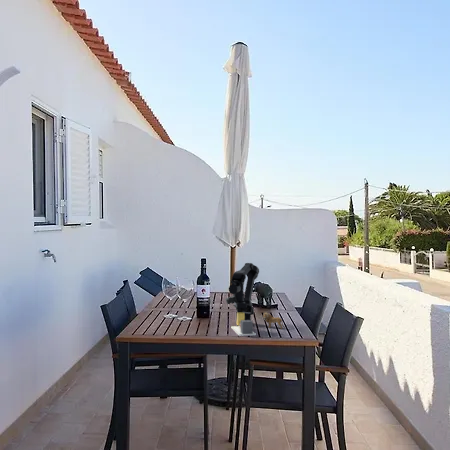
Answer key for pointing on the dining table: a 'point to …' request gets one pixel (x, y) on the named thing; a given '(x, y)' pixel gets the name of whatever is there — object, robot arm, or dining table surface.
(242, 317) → the yellow pegged block
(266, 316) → the lion figurine
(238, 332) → the cord rail
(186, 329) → the dining table surface
